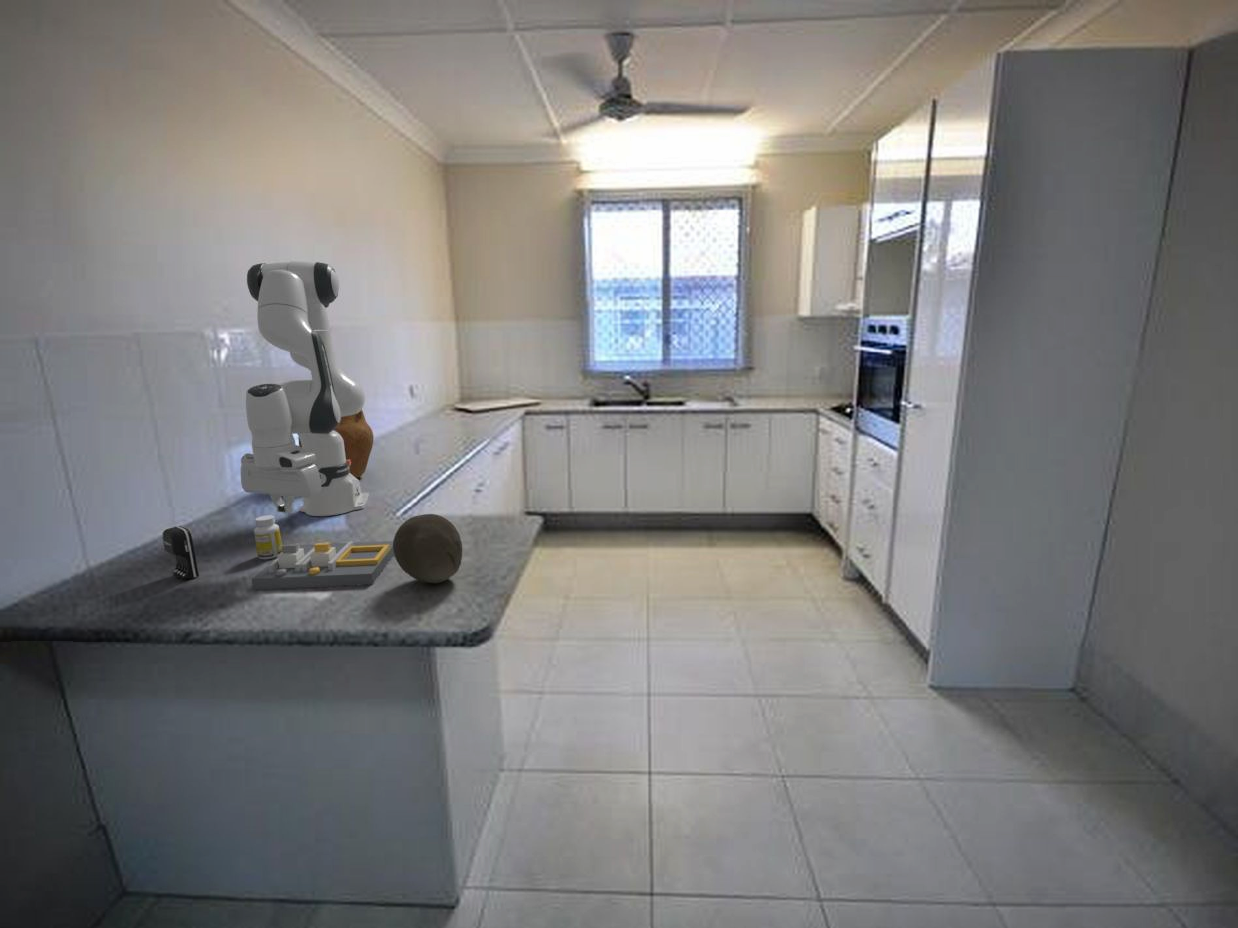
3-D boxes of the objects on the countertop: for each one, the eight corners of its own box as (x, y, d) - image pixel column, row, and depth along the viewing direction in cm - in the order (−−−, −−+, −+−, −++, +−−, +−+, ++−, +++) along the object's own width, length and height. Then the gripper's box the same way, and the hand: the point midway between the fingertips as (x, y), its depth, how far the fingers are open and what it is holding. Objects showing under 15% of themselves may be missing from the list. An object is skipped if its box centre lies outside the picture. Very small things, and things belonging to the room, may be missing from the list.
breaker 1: (287, 561, 142) (284, 542, 141) (305, 560, 142) (302, 541, 141) (279, 568, 138) (276, 548, 137) (297, 567, 138) (294, 548, 137)
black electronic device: (168, 576, 142) (158, 528, 139) (187, 570, 145) (178, 523, 142) (181, 583, 138) (171, 534, 135) (200, 577, 141) (191, 529, 138)
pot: (389, 471, 234) (381, 391, 227) (357, 488, 211) (346, 400, 204) (328, 470, 237) (318, 391, 230) (290, 488, 213) (277, 400, 206)
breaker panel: (294, 554, 153) (291, 538, 152) (398, 550, 155) (396, 534, 154) (253, 589, 134) (250, 571, 133) (372, 584, 135) (370, 566, 134)
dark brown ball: (460, 564, 145) (455, 503, 141) (469, 588, 132) (463, 521, 128) (396, 574, 140) (389, 511, 136) (398, 600, 127) (391, 530, 124)
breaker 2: (318, 560, 142) (316, 541, 141) (336, 559, 143) (334, 540, 141) (311, 566, 138) (308, 547, 137) (330, 566, 139) (327, 546, 138)
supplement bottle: (277, 550, 156) (271, 512, 154) (287, 554, 153) (281, 516, 151) (254, 556, 152) (248, 518, 150) (263, 561, 149) (257, 522, 147)
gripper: (228, 456, 144) (239, 512, 148) (300, 461, 139) (310, 520, 142) (251, 449, 150) (261, 504, 154) (321, 454, 145) (329, 511, 148)
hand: (285, 511), depth 148 cm, fingers closed
